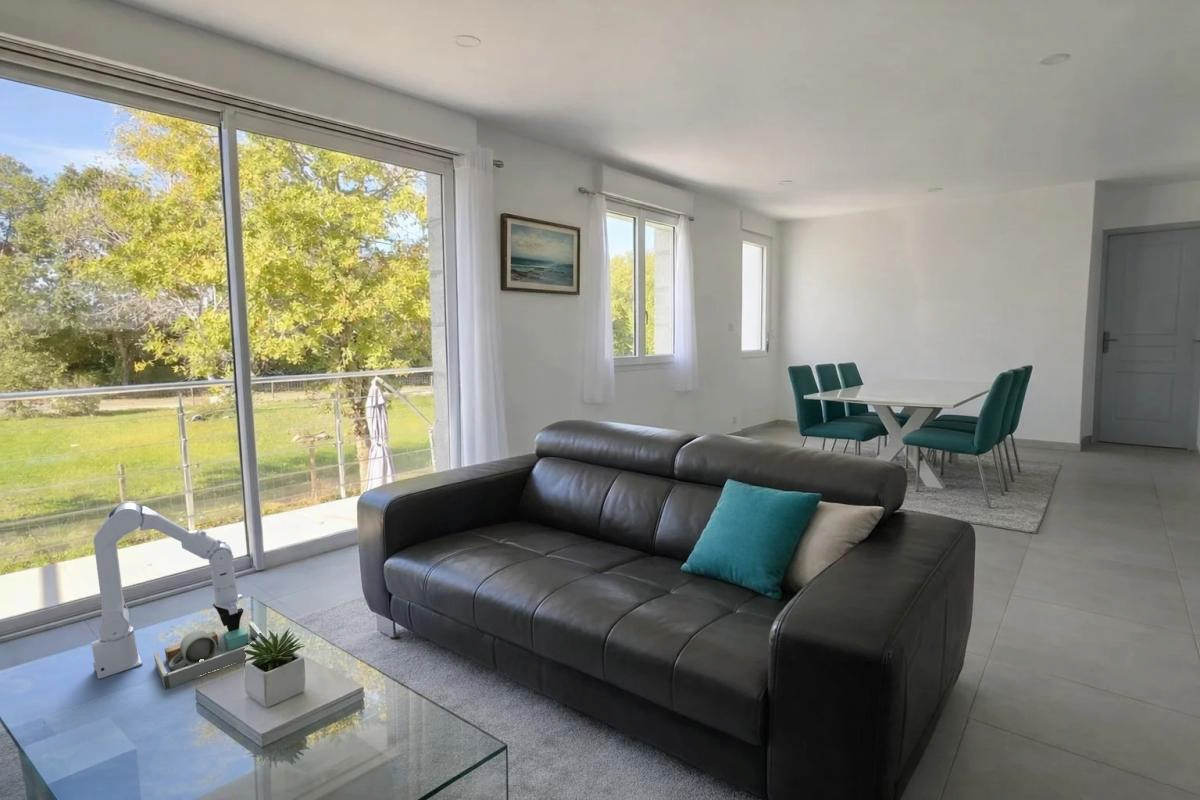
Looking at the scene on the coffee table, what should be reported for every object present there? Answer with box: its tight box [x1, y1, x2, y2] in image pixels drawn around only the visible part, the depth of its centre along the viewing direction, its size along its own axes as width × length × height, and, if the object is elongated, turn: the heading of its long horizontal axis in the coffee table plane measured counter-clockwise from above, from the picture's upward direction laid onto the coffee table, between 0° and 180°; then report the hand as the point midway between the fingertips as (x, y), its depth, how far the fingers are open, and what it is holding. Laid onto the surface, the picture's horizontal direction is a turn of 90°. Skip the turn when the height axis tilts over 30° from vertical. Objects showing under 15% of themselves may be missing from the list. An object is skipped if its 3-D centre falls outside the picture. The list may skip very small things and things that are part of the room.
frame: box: [153, 621, 263, 690], centre depth 174 cm, size 24×15×4 cm, turn 132°
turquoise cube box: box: [223, 627, 250, 651], centre depth 182 cm, size 5×5×3 cm
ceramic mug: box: [168, 630, 218, 671], centre depth 173 cm, size 11×8×8 cm
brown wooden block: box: [164, 631, 220, 664], centre depth 178 cm, size 12×3×4 cm, turn 135°
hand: (231, 629), depth 187 cm, fingers open, 7 cm apart
